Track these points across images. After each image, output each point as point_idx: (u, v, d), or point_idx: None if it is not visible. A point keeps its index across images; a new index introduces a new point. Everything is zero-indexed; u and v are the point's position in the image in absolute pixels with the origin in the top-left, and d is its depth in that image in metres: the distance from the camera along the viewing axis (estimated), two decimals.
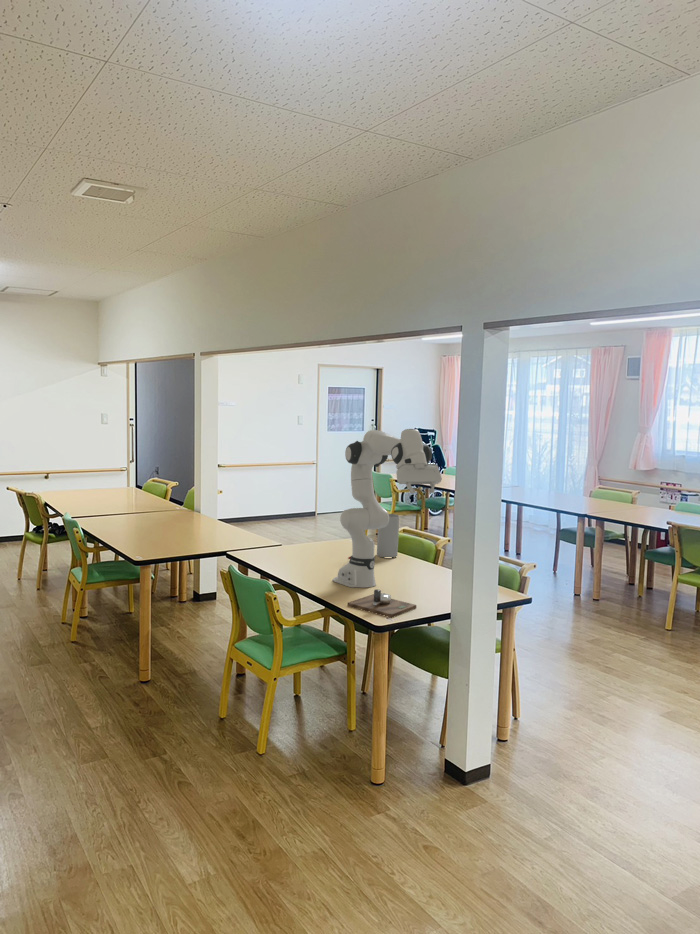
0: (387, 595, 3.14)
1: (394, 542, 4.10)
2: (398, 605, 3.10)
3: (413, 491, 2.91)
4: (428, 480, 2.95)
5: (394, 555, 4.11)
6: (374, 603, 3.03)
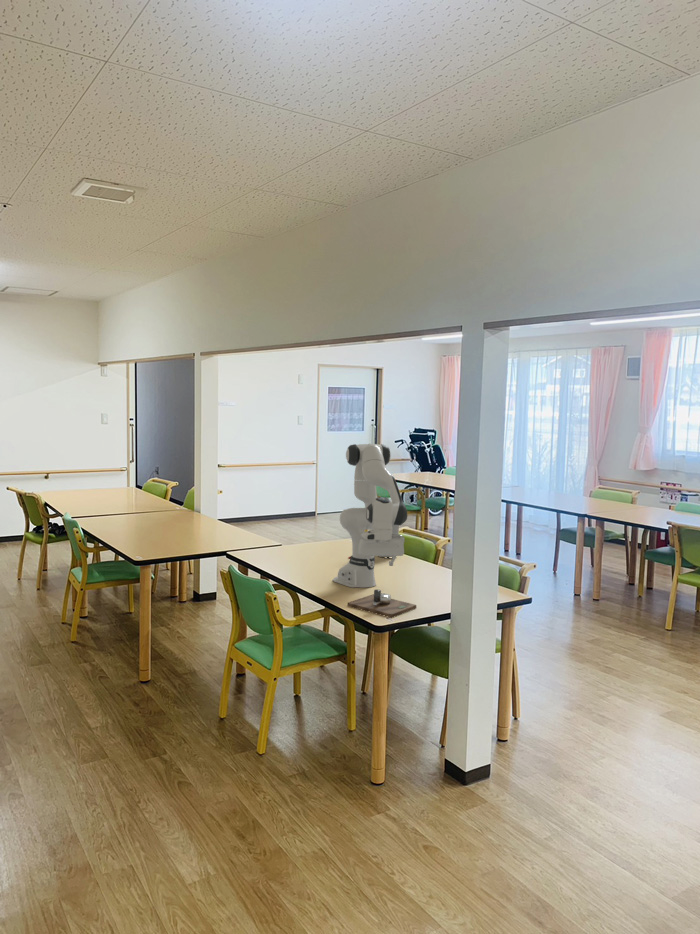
0: (387, 595, 3.14)
1: None
2: (398, 605, 3.10)
3: (370, 565, 3.01)
4: (389, 555, 3.02)
5: None
6: (374, 603, 3.03)
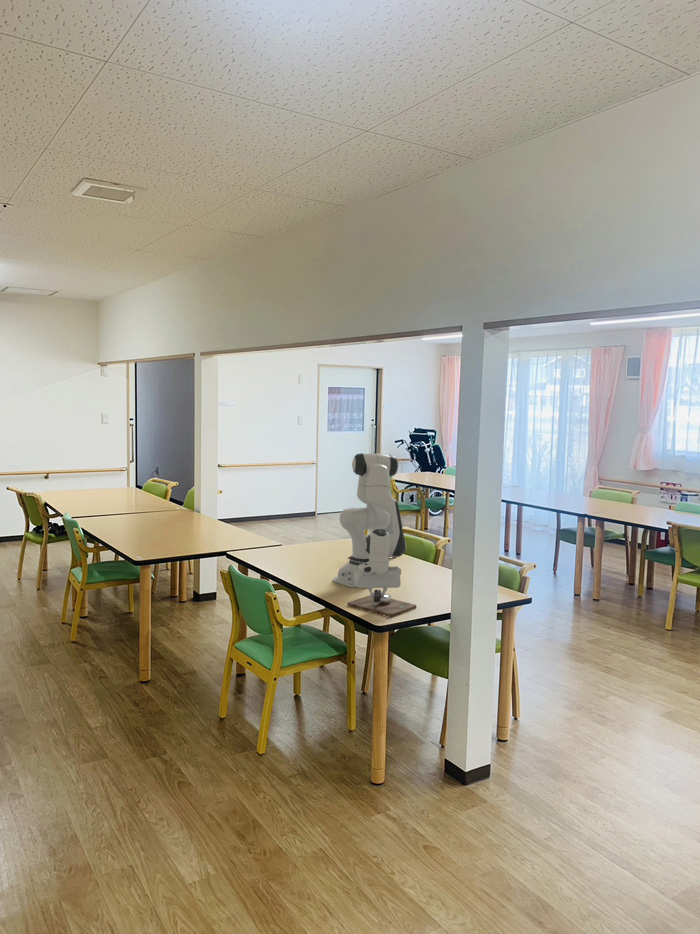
0: (387, 595, 3.14)
1: None
2: (398, 605, 3.10)
3: (372, 596, 3.04)
4: (385, 587, 3.04)
5: None
6: (374, 603, 3.03)
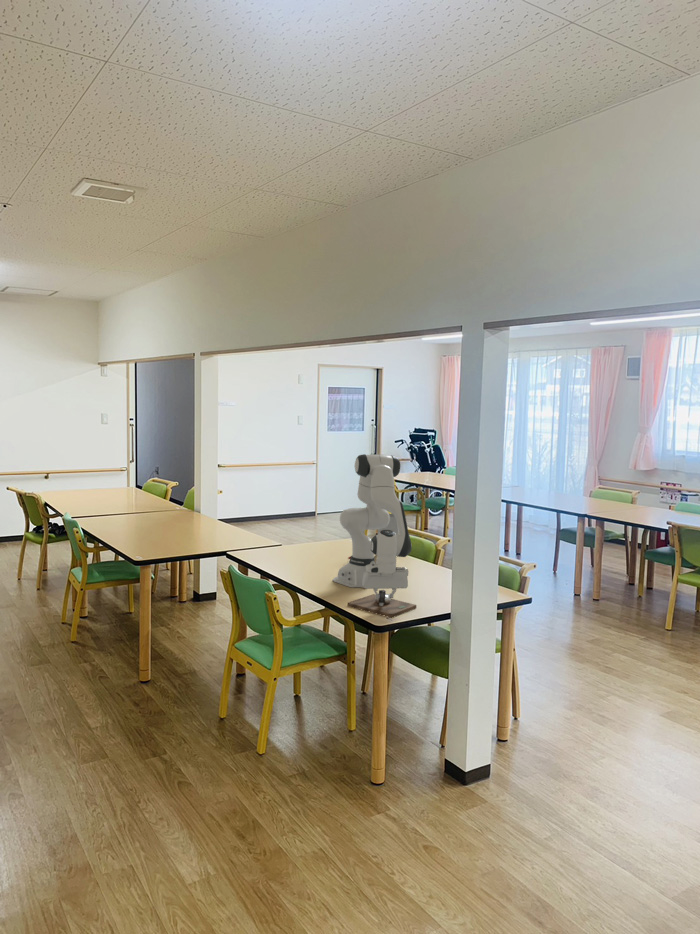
0: (386, 594, 3.14)
1: None
2: (398, 605, 3.10)
3: (378, 597, 3.03)
4: (392, 587, 3.03)
5: None
6: (380, 604, 3.03)
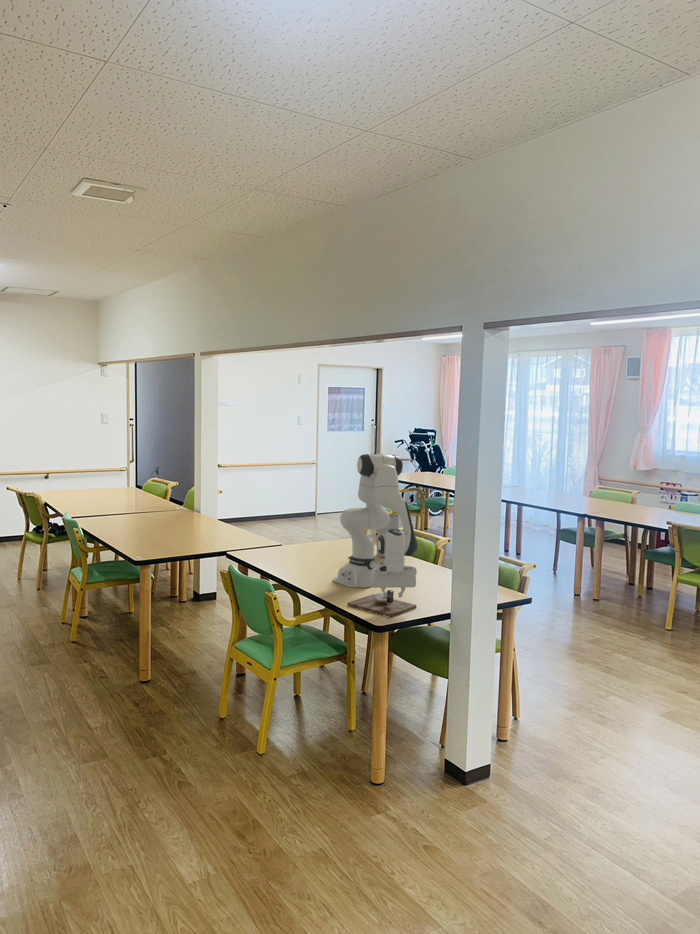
0: None
1: None
2: (398, 605, 3.10)
3: (385, 596, 3.04)
4: (401, 586, 3.04)
5: None
6: (391, 604, 3.03)
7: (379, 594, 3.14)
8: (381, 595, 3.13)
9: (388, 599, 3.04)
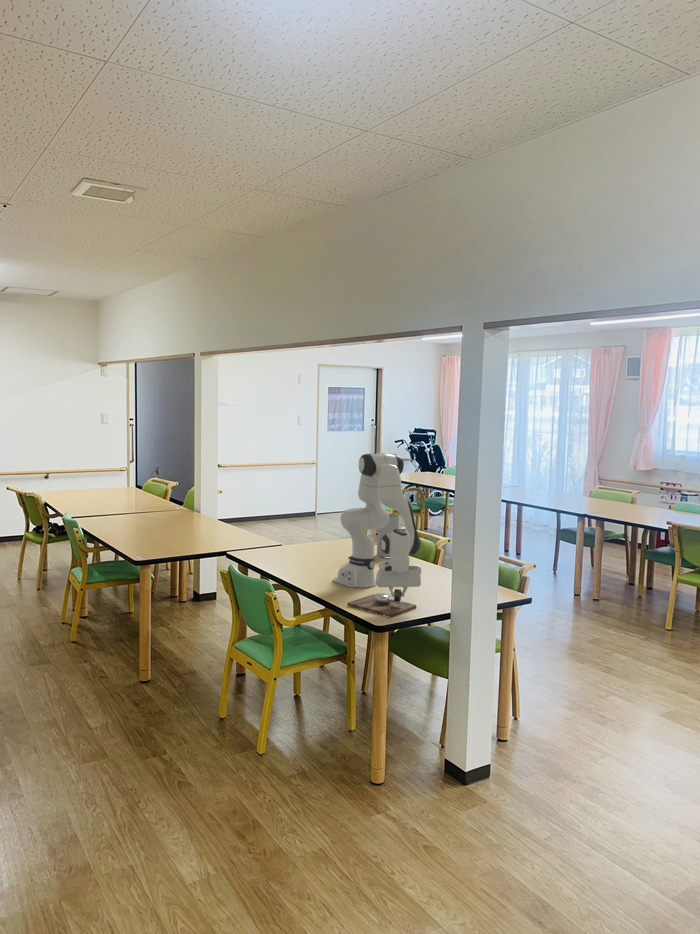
0: (382, 594, 3.15)
1: None
2: (398, 605, 3.10)
3: (393, 595, 3.06)
4: (406, 586, 3.06)
5: None
6: (401, 602, 3.06)
7: (378, 595, 3.13)
8: (382, 595, 3.12)
9: (397, 598, 3.06)
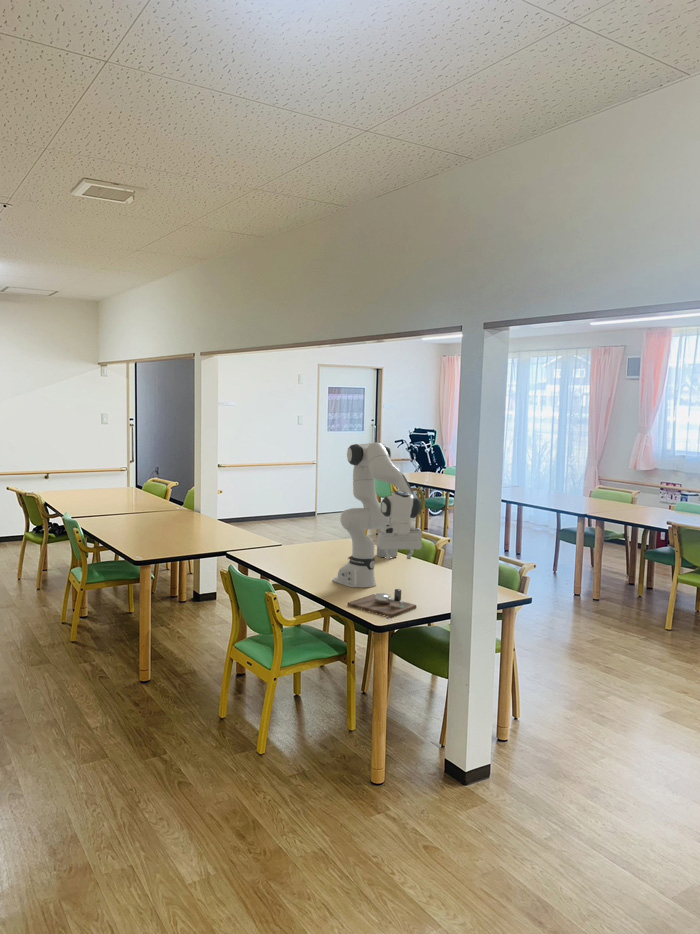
0: (382, 594, 3.15)
1: None
2: (398, 605, 3.10)
3: (388, 558, 3.03)
4: (407, 548, 3.03)
5: (394, 555, 4.11)
6: (401, 602, 3.06)
7: (378, 595, 3.13)
8: (382, 595, 3.12)
9: (398, 598, 3.06)
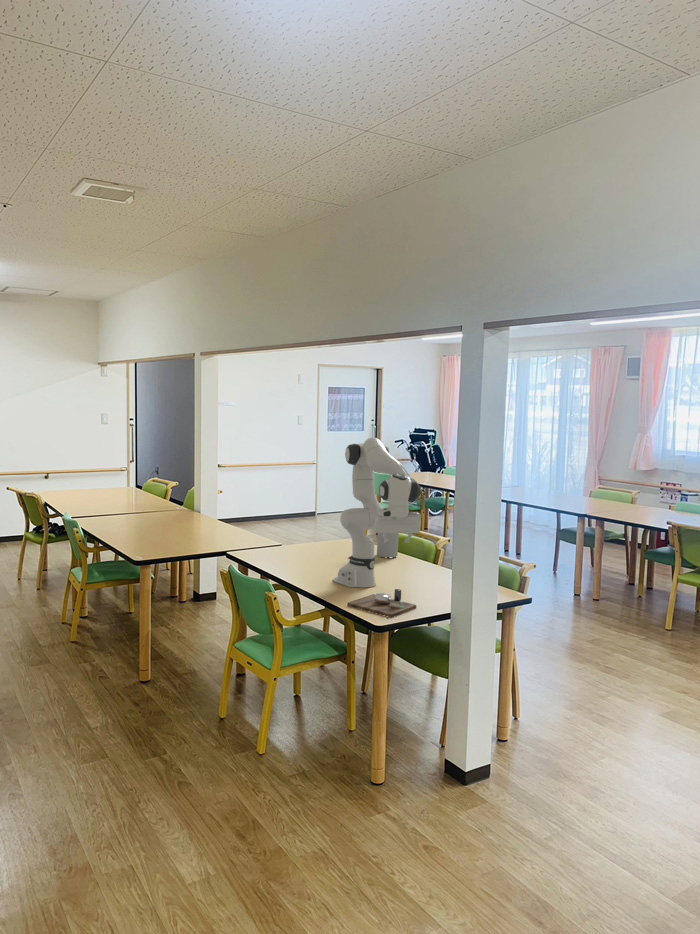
0: (382, 594, 3.15)
1: (394, 542, 4.10)
2: (398, 605, 3.10)
3: (386, 542, 2.99)
4: (405, 532, 3.00)
5: (394, 555, 4.11)
6: (401, 602, 3.06)
7: (378, 595, 3.13)
8: (382, 595, 3.12)
9: (398, 598, 3.06)
